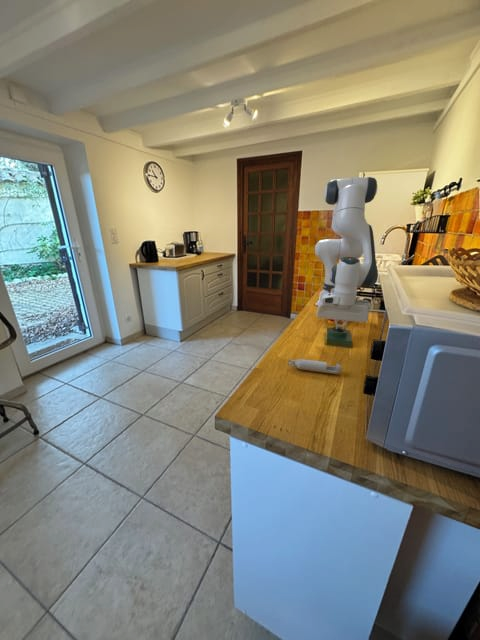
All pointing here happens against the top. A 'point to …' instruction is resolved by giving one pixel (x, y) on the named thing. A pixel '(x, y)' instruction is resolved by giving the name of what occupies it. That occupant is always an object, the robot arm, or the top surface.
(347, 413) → the top surface
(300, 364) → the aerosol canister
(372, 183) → the robot arm
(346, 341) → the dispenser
